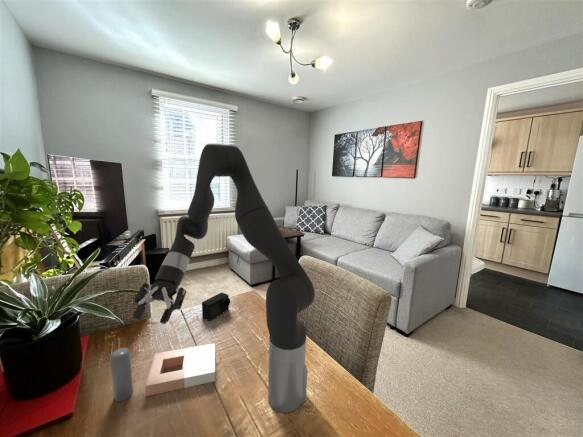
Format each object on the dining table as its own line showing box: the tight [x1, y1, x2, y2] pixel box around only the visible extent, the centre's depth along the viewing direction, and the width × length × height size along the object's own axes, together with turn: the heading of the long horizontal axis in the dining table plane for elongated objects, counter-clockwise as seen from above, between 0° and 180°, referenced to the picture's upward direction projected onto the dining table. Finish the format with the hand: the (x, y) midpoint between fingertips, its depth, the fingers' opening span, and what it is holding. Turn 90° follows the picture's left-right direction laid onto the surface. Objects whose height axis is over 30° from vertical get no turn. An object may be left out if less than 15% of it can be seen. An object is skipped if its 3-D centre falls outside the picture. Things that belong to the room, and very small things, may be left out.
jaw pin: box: [109, 347, 134, 403], centre depth 62 cm, size 4×4×12 cm
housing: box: [145, 343, 216, 397], centre depth 70 cm, size 17×12×3 cm
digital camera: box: [201, 291, 231, 322], centre depth 100 cm, size 10×5×7 cm, turn 149°
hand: (149, 321), depth 70 cm, fingers open, 8 cm apart
